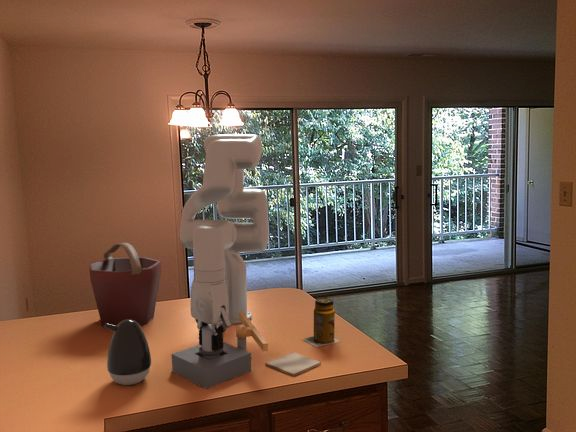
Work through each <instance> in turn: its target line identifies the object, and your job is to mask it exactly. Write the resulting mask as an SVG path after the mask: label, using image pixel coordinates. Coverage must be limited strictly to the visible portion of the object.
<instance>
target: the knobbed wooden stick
mask: <svg viewBox="0 0 576 432" xmlns="http://www.w3.org/2000/svg"><path fill="white" fill-rule="evenodd" d="M239 320H240V321H241V322H242V323H241V324H242V325H243V326H239V327H236V328H235V337H236V339H237V338H246V339H247V338H250V337H251V338H252V339H253V340H254V341H255V343H256V344H257V345H258V347H259V348H260V349H261V351H262V352H268V351H269V349H268V347H269V343H268V342H267V340H266V339H265V338H264V336H263V335H262V334H261V332H259V330H258V329H257V328H256V326H255V325H254V324H253V322H252V320H251V319H250V320H249V319H248V318H247V316H246V315H245V314H244V313H243V312H239Z"/></svg>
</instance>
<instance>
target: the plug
mask: <svg viewBox="0 0 576 432" xmlns="http://www.w3.org/2000/svg"><path fill="white" fill-rule="evenodd" d="M216 326H217V328H218V327H219V325H218V324H217V325H216ZM212 335H213V330H212V325H210V324H209V325H207V326H204V327H202V346H201V347H200V348H199V353H200V354H201V355H203V358H205V359H207V360H211V359H214V358H217V357H220V354H221V353H222V352H223V348H222V349H219V350H216V351H212V337H211V336H212Z"/></svg>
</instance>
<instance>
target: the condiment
mask: <svg viewBox="0 0 576 432" xmlns="http://www.w3.org/2000/svg"><path fill="white" fill-rule="evenodd" d="M335 316H336V315H335V308H334V300H333V299H331V298H327V297H321V298H317V299H315V302H314V309H313V336H310V337H304V338H302V340H303V341H305V342H306V343H308V344H310V345H312V346H314V347H316V348H319V347H323V346H326V345H332V344H335V343H339V342H341V340H339V339H337V338H335V321H336V320H335Z"/></svg>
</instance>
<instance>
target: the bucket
mask: <svg viewBox="0 0 576 432" xmlns="http://www.w3.org/2000/svg"><path fill="white" fill-rule="evenodd" d="M120 247H121V248H123V250H124V251H125V252H126V255H127V256H128V257H113V256H112V254H113V253H115V252H116V251H118V250H119V248H120ZM102 257H103V260H100V261H95V262H90V263H88V268H89V269H88V270H89V279H90V283H91V287H92V291H93V295H94V300H95V304H96V307H97V310H98V315H99V319H100V323H101V327H102V328H105V324H106V323H108V324H112V325H115V326H117V325H118V324H119V323H120V322H121V321H123V320H125V319H132V320H135V321H136V322H137V323H138V324H139V325H140V326H144V325H147V324H148V323H149V322H150V321H151V320H152V319H153V318H154V316H155V311H156V305H157V299H158V293H159V287H160V280H161V274H162V261H161V260H157V259H153V258H150V257H146V256H139V255H138V252H137V251H136V249H135V247H134V246H133V245H132V244H130V243H128V242H118V243H113V244H112V245H111V246H110V247H109V248H108V249H107V250H105V251H104V252H103V254H102Z"/></svg>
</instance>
